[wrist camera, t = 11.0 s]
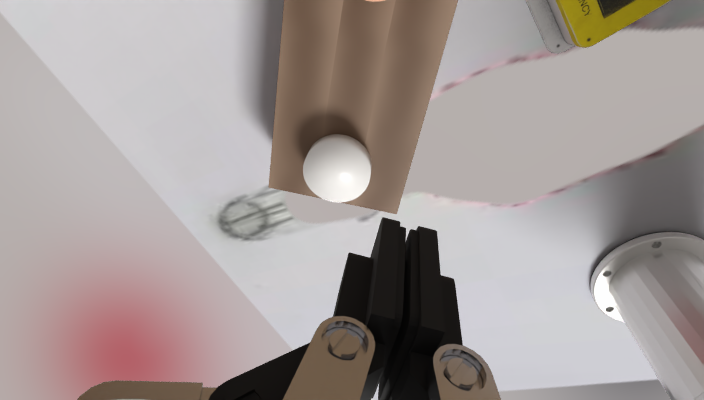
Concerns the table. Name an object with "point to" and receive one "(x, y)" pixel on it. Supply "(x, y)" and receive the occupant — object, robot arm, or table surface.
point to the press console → (356, 86)
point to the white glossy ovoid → (337, 168)
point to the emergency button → (585, 19)
